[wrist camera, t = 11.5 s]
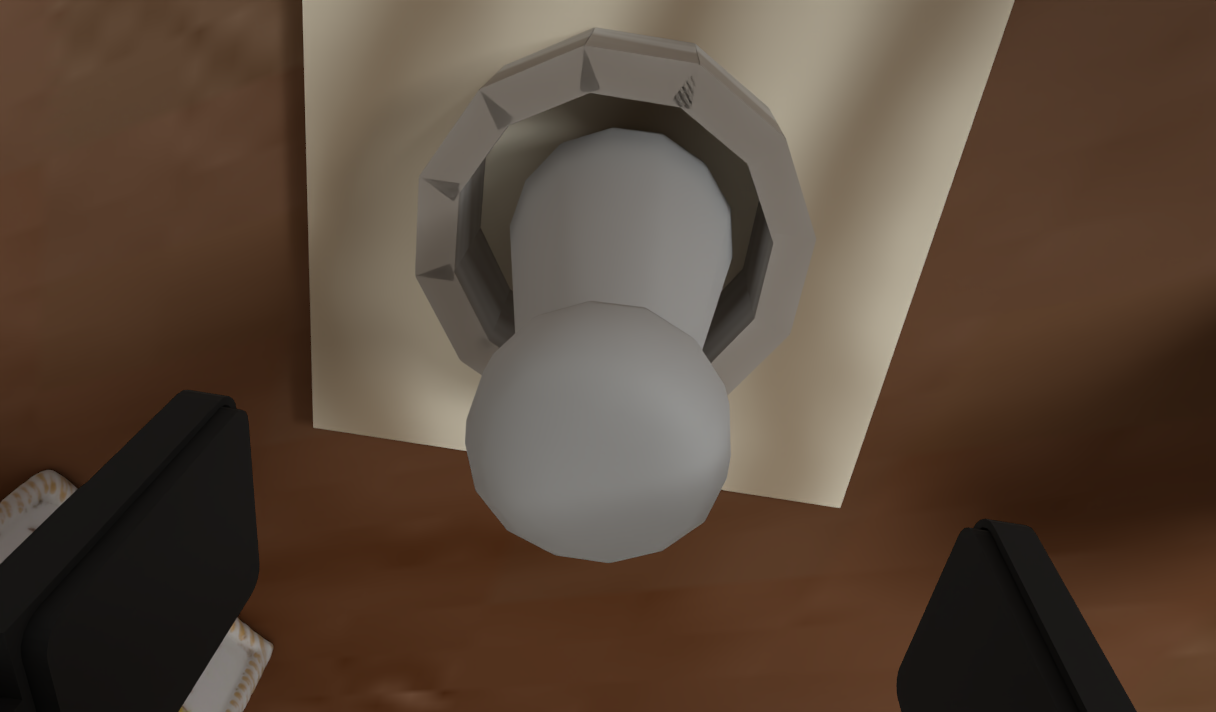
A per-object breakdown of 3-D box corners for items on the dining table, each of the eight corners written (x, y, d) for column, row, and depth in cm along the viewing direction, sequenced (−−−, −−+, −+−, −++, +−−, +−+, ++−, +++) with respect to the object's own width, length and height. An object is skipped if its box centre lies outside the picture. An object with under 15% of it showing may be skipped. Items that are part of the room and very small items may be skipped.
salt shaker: (489, 236, 25) (337, 514, 13) (592, 66, 22) (518, 224, 11) (653, 337, 26) (646, 673, 14) (768, 186, 24) (870, 443, 12)
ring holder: (1027, -86, 21) (1113, -86, 17) (834, 490, 29) (861, 579, 25) (313, -203, 21) (229, -232, 17) (323, 411, 29) (270, 490, 25)
